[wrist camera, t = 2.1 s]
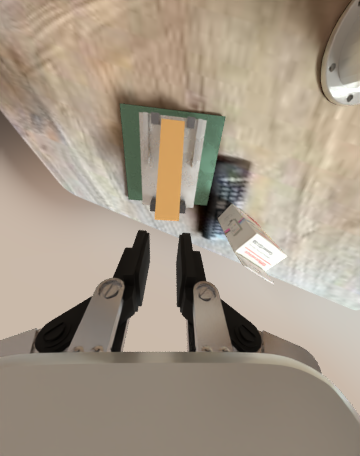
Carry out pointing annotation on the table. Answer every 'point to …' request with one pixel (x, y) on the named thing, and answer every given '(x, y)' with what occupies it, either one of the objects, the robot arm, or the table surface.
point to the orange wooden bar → (169, 170)
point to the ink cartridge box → (250, 242)
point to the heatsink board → (136, 152)
